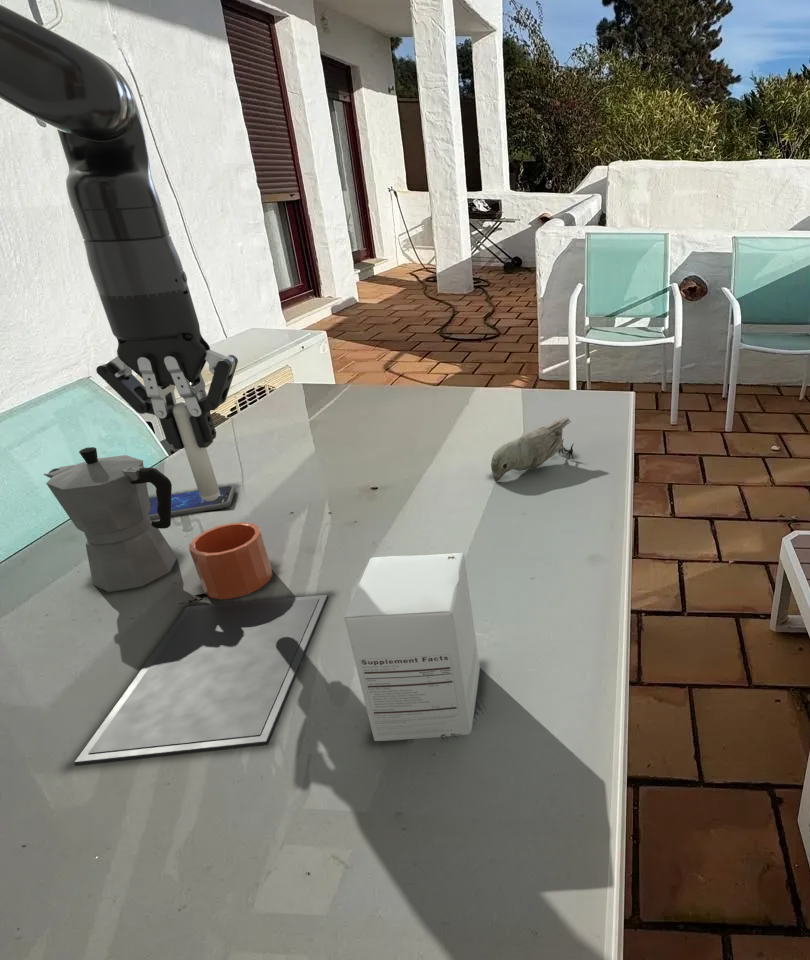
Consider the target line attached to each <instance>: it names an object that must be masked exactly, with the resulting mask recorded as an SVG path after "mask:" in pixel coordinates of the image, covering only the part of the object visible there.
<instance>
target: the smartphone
mask: <svg viewBox="0 0 810 960" xmlns="http://www.w3.org/2000/svg"><path fill="white" fill-rule="evenodd" d="M218 488H219V491H220V494H219V496H218V498H217V499H215V500H213V501H206V500H203V499H202V498H201V496H200V494H199V491H198V490H192V491H185V492H177V493H171V517H177V516H183V515H189V514H197V513H203V512H209V511H216V510H221V509H222V510H223V509H226V508H228V507H230V506H231V504H232V502H233V499H234V496H235V493H236V488H235V486H234V485H225V486H218ZM149 501H150V507H151V509H150V511H149V513H148V515H149V518H150V520H151V521H153V520H157V519H160V517H159V514H158V512H157V507H158V500H157V496H153V497H149Z"/></svg>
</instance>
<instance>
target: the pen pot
mask: <svg viewBox="0 0 810 960" xmlns="http://www.w3.org/2000/svg"><path fill="white" fill-rule="evenodd" d="M188 549H189V550H188V551H189V553H190V555H191V558H192V562H193V564H194V567H195V570H196V573H197V576H198V578H199V582H200V585H201V587H202V590H203V593H204V594H205V596H206V595H207V596H208V597H209V598H211V599H216V600H229V599H236V598H240V597H243V596H247V595H250V594H252V593H254V592H255V591H258V590H259V589H261V588H262V587H263V586H265V585H266V584H267V583H269V581H270V580H271V579H272V577H273V569H272V565H271V562H270V559H269V556H268V552H267V548H266V545H265V542H264V538H263V534H262V531H261V528H260V527H259V526H258V525H257V524H255V523H252V522H245V521H244V522H242V521H241V522H240V521H239V522H230V523H226V524H221V525H217V526H214V527H212V528H210V529H206V530H205V531H203V532H201V533H200V534H198V535H196V536H195V537H194V538H193V539H192V540H191V541H190V543H189V545H188Z"/></svg>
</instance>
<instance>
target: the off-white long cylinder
mask: <svg viewBox="0 0 810 960" xmlns="http://www.w3.org/2000/svg"><path fill="white" fill-rule="evenodd" d="M173 415H174V418H175V421H176V424H177V427H178V430H179V433H180V436H181V439H182V442H183V445H184V448H183V449H184V452H185V455H186V457H187V460H188V464H189V466H190V469H191V472H192V476H193V479H194V482H195V485H196V488H197V491H199V494H200V496H201V498H202V499H203V500H206V501H213V500H215V499H217V498H218V496H219V494H220V491H219V488H218V487H219V485H218V481H217V478H216V475H215V472H214V468H213V465H212V461H211V459H210V456H209V453H208V449H207V447H206V448H199V446H198V444H197V441H196V437H195V434H194V431H193V428H192V425H191V422H190V419H189V418H190V417H191V416H192V415H191V414H190V413H189V410H188V408H187V405H186V403H185V401H180V402H176V405H175V406H174V407H173Z"/></svg>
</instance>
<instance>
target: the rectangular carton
mask: <svg viewBox="0 0 810 960" xmlns="http://www.w3.org/2000/svg"><path fill="white" fill-rule="evenodd" d="M343 619H344V623H345V628H346V631H347V635H348V638H349V644H350V647H351V651H352V656H353V659H354V663H355V667H356V671H357V676H358V679H359V684H360V688H361V692H362V697H363V700H364V705H365V709H366V713H367V716H368V717H367V718H368V720H369V724H370V729H371V732H372V738H373V741H374V742H384V741H385V742H387V741H402V740H417V739H429V738H430V739H431V738H445V737H457V736H468V735H470V734H471V733H472V728H473V723H474V717H475V710H476V709H475V708H476V701H477V696H478V695H477V694H478V687H479V678H480V671H481V670H480V669H481V667H480V661H479V659H480V658H479V652H478V644H477V637H476V630H475V624H474V622H475V621H474V616H473V609H472V599H471V594H470V586H469V579H468V572H467V565H466V558H465V553H464V552H453V553H440V554H439V553H438V554H420V555H385V556H376V557H374V556H373V557H370V558H369V561H368V563H367V565H366V568H365V570H364V572H363V575H362V577H361V579H360V580H359V583H358V586H357V587H356V590H355V592H354V594H353V597H352V599H351V602H350V604H349V606H348V608H347V610H346V613H345V615H344V617H343Z"/></svg>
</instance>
